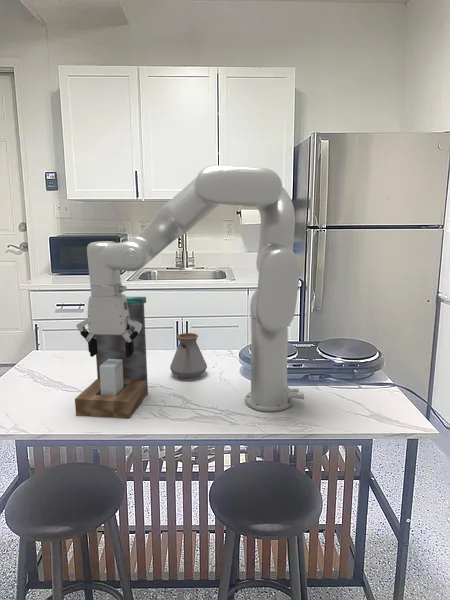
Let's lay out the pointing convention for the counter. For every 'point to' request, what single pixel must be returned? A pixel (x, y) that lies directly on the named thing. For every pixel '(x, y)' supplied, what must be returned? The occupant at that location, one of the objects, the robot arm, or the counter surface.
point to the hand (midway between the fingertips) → (111, 355)
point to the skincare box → (111, 377)
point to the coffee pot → (188, 358)
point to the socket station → (133, 372)
